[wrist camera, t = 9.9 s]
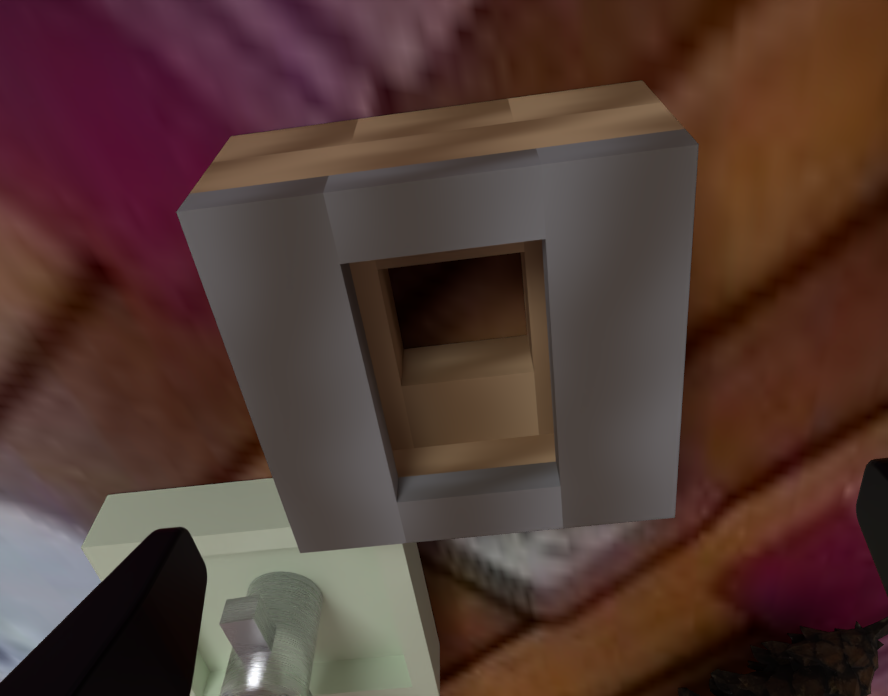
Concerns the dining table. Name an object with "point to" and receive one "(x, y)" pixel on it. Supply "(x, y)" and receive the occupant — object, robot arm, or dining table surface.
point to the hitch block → (468, 363)
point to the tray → (275, 549)
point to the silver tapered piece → (272, 636)
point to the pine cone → (807, 665)
